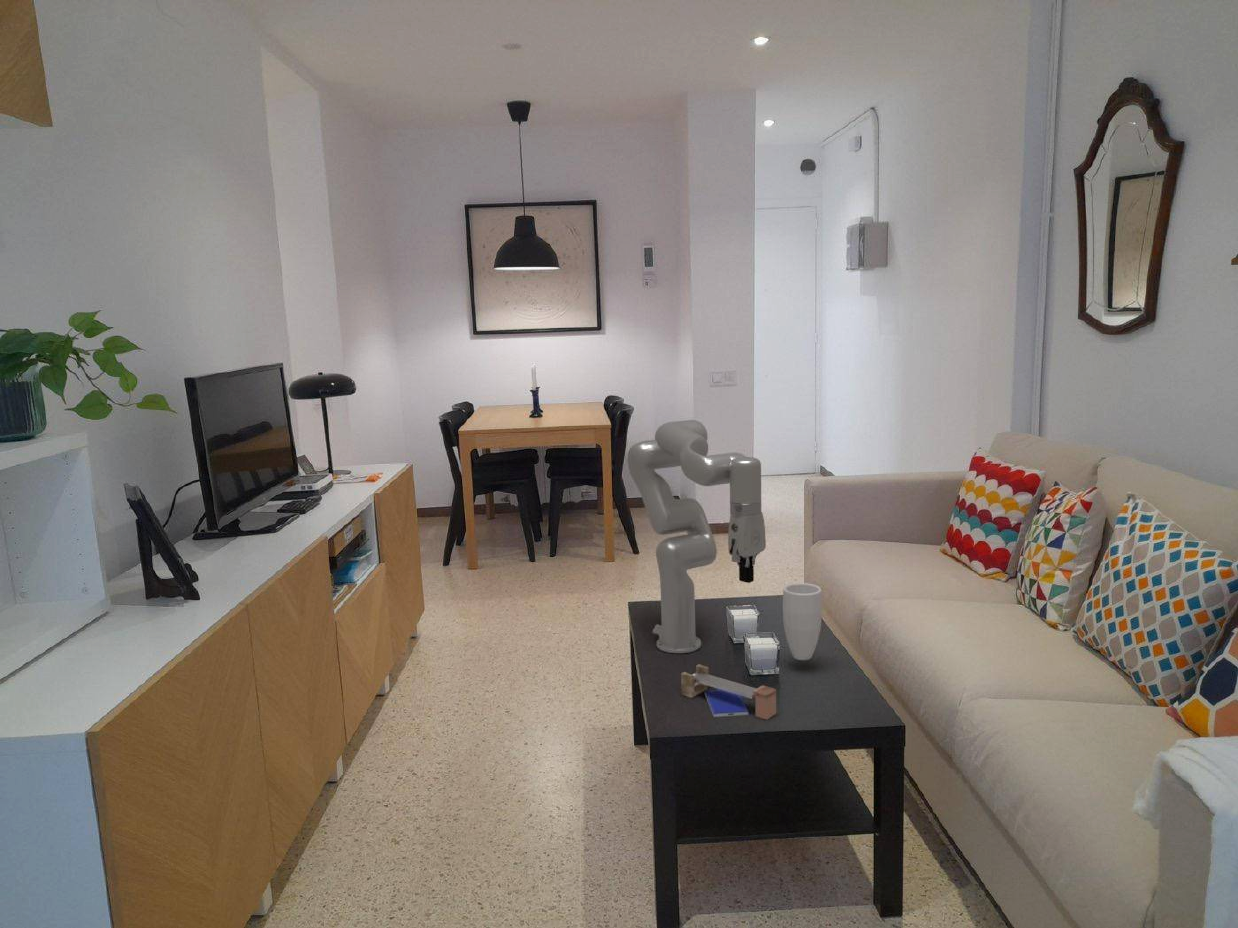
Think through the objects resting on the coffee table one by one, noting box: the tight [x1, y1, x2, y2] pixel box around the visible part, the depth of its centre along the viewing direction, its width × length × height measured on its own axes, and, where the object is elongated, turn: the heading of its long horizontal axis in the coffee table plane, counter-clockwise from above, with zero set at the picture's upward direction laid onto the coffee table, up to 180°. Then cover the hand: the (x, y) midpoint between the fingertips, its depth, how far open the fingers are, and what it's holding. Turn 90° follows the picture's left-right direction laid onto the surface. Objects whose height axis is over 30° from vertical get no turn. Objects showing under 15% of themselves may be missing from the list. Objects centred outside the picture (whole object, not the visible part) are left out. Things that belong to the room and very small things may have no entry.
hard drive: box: [704, 688, 749, 718], centre depth 199 cm, size 2×8×12 cm
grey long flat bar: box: [692, 671, 757, 700], centre depth 200 cm, size 19×4×1 cm, turn 47°
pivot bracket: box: [680, 663, 710, 699], centre depth 206 cm, size 3×7×6 cm, turn 137°
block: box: [753, 685, 777, 721], centre depth 193 cm, size 4×4×6 cm
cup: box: [782, 582, 823, 661], centre depth 217 cm, size 10×10×22 cm
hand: (746, 581), depth 205 cm, fingers closed
